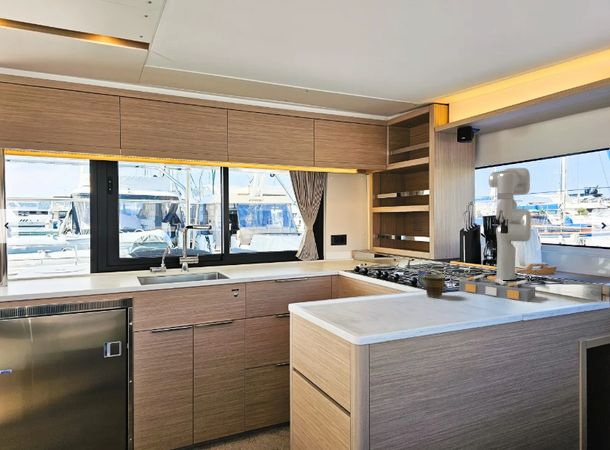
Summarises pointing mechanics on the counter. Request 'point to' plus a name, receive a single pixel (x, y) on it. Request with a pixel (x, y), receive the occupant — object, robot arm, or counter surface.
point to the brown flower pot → (433, 285)
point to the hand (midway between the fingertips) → (504, 233)
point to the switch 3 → (517, 283)
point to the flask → (421, 274)
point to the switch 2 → (496, 280)
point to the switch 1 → (476, 277)
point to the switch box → (497, 289)
